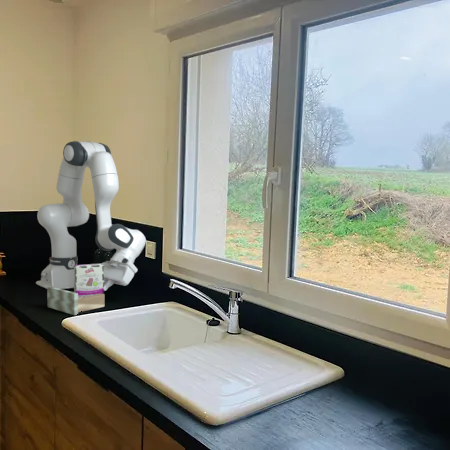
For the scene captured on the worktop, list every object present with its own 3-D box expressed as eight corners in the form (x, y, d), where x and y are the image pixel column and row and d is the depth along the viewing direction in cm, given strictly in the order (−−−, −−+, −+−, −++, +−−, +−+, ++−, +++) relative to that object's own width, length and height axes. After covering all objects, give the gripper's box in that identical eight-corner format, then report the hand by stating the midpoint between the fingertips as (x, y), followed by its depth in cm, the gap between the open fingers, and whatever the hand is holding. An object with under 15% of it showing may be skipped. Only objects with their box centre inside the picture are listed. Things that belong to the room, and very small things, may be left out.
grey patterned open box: (47, 306, 202) (47, 287, 201) (81, 300, 214) (81, 281, 213) (74, 315, 190) (74, 294, 190) (108, 307, 203) (108, 287, 202)
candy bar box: (101, 302, 211) (101, 263, 209) (104, 305, 206) (104, 265, 205) (73, 304, 206) (73, 264, 205) (75, 307, 202) (75, 266, 200)
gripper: (101, 256, 222) (82, 281, 215) (132, 261, 209) (113, 288, 202) (109, 264, 226) (91, 290, 219) (140, 270, 213) (122, 297, 206)
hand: (102, 289), depth 211 cm, fingers closed
